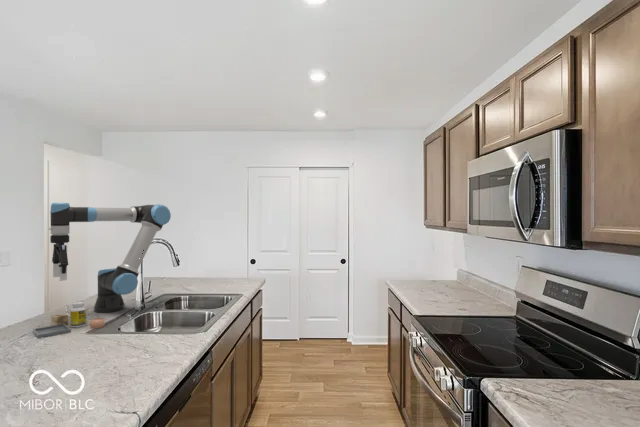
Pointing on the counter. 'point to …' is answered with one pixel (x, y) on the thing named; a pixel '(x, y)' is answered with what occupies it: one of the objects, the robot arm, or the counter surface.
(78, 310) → the pill bottle
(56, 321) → the cork block
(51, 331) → the slate tray
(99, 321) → the brown egg
